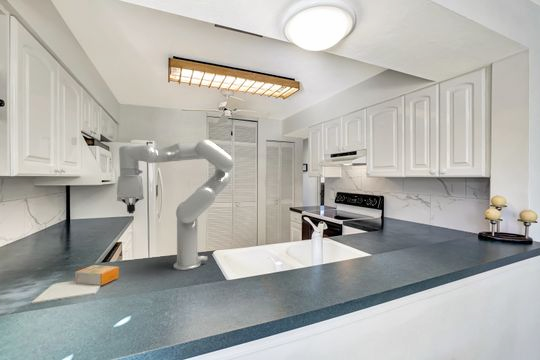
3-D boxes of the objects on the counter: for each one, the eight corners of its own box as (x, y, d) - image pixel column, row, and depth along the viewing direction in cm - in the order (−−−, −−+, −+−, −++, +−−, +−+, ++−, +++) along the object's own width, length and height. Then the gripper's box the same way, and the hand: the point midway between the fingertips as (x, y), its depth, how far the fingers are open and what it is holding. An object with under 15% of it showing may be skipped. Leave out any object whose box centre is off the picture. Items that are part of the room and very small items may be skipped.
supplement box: (102, 273, 93) (74, 271, 95) (102, 285, 93) (74, 283, 95) (119, 266, 101) (93, 264, 103) (119, 277, 101) (93, 275, 103)
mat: (106, 278, 102) (106, 276, 102) (95, 294, 87) (95, 292, 87) (53, 285, 95) (53, 283, 95) (31, 304, 80) (31, 302, 80)
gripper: (148, 173, 115) (149, 210, 115) (111, 173, 109) (113, 213, 109) (147, 172, 108) (149, 212, 108) (108, 173, 102) (110, 215, 102)
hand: (131, 213), depth 109 cm, fingers closed
